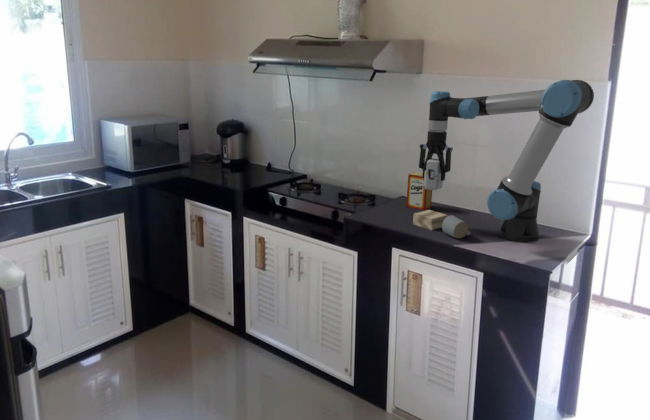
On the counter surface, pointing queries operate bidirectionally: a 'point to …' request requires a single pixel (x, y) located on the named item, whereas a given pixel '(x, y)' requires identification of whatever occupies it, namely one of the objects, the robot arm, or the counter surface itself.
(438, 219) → the maple block
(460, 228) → the ceramic mug
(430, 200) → the baking soda box
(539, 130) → the robot arm
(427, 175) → the ink box
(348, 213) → the counter surface
